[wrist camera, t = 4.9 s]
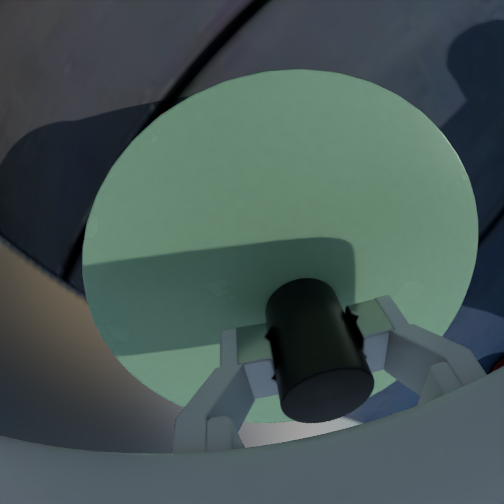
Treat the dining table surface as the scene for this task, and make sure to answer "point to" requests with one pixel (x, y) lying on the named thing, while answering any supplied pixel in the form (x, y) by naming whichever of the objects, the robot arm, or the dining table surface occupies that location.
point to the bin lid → (277, 235)
